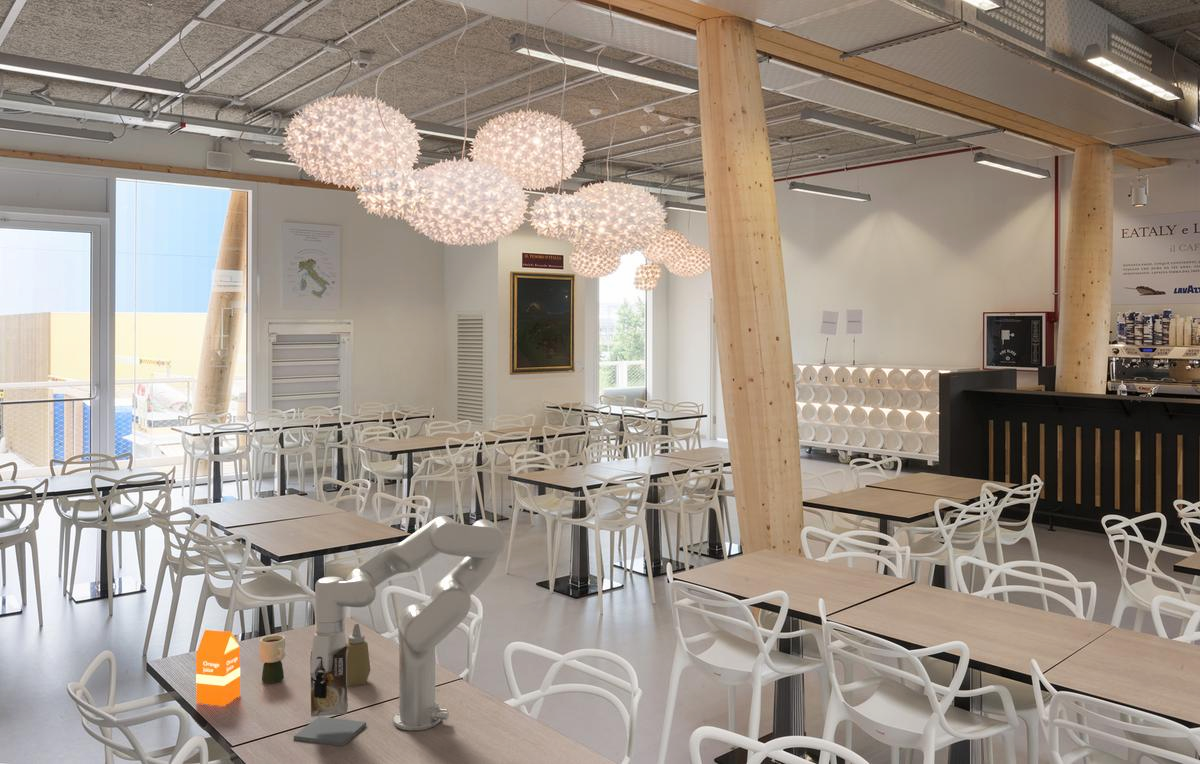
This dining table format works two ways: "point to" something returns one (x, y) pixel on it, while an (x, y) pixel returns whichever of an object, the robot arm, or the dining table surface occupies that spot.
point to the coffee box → (332, 688)
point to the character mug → (272, 657)
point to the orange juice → (218, 668)
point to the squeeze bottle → (357, 658)
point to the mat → (330, 731)
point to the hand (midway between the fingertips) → (329, 690)
